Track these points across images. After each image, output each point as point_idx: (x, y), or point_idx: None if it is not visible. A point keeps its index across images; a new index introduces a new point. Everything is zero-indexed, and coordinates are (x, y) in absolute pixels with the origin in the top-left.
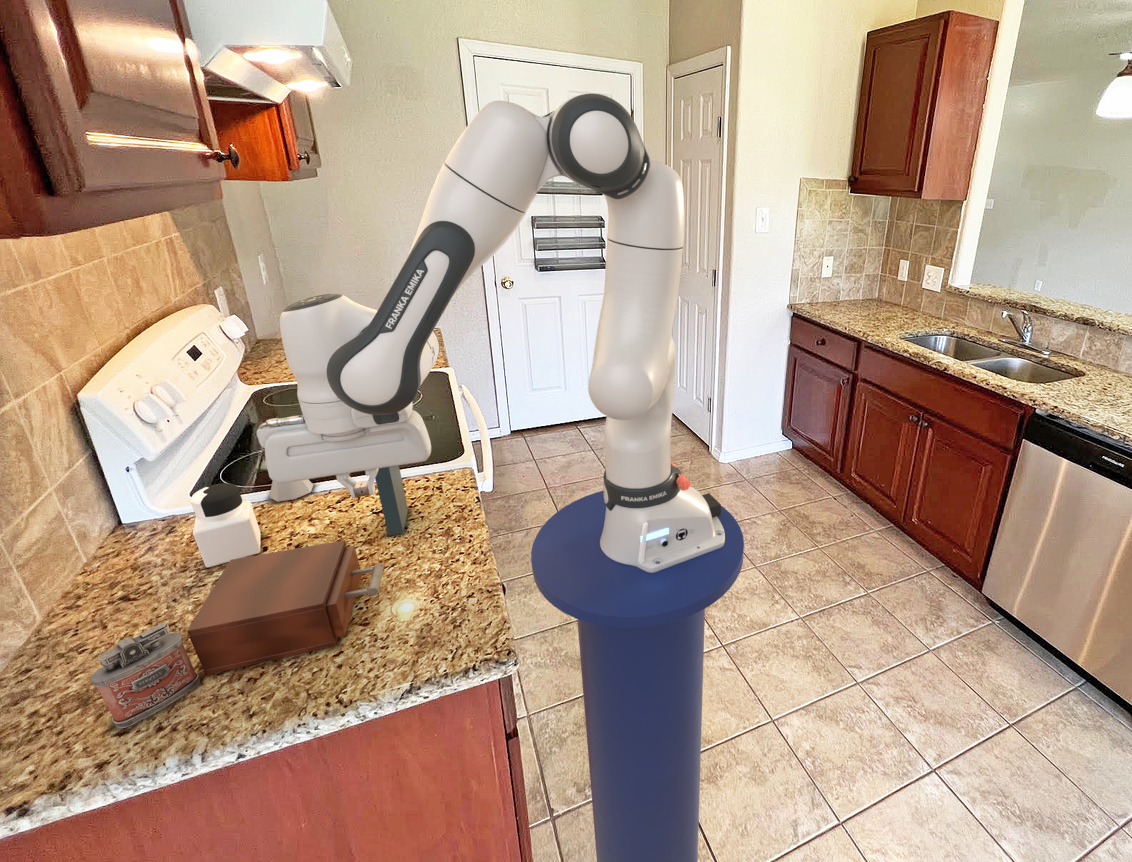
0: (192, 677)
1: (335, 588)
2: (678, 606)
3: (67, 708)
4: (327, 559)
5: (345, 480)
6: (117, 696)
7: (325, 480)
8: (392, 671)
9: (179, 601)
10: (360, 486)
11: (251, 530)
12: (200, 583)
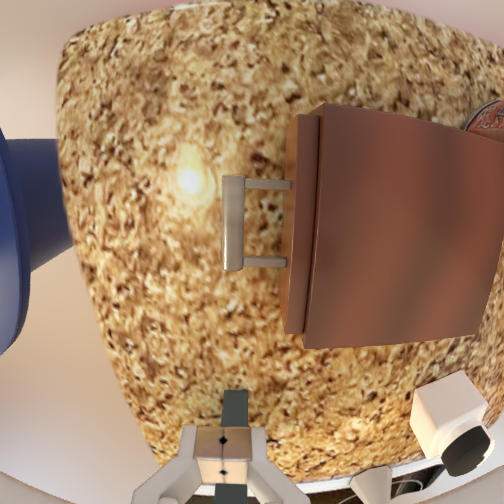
0: (469, 130)
1: (308, 173)
2: None
3: None
4: (336, 285)
5: (275, 496)
6: None
7: (336, 490)
8: (201, 32)
9: (485, 314)
10: (222, 463)
11: (431, 414)
12: (468, 343)
